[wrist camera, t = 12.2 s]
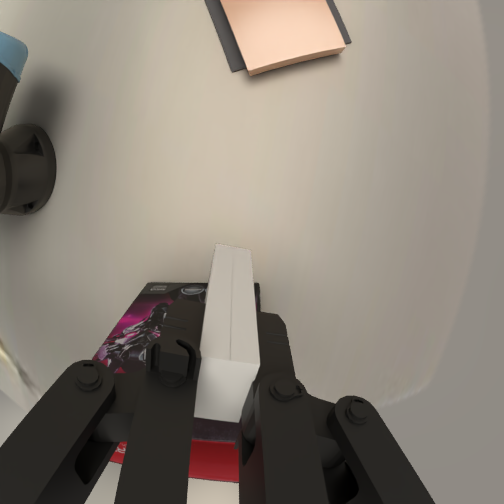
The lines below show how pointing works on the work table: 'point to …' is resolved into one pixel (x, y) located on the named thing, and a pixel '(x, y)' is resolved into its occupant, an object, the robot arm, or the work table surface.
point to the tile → (282, 31)
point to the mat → (231, 43)
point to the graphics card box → (134, 359)
